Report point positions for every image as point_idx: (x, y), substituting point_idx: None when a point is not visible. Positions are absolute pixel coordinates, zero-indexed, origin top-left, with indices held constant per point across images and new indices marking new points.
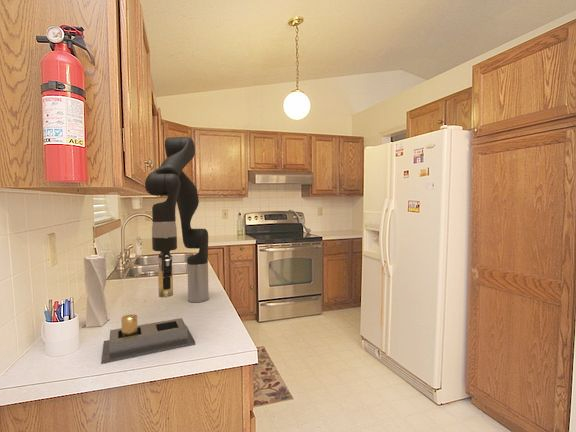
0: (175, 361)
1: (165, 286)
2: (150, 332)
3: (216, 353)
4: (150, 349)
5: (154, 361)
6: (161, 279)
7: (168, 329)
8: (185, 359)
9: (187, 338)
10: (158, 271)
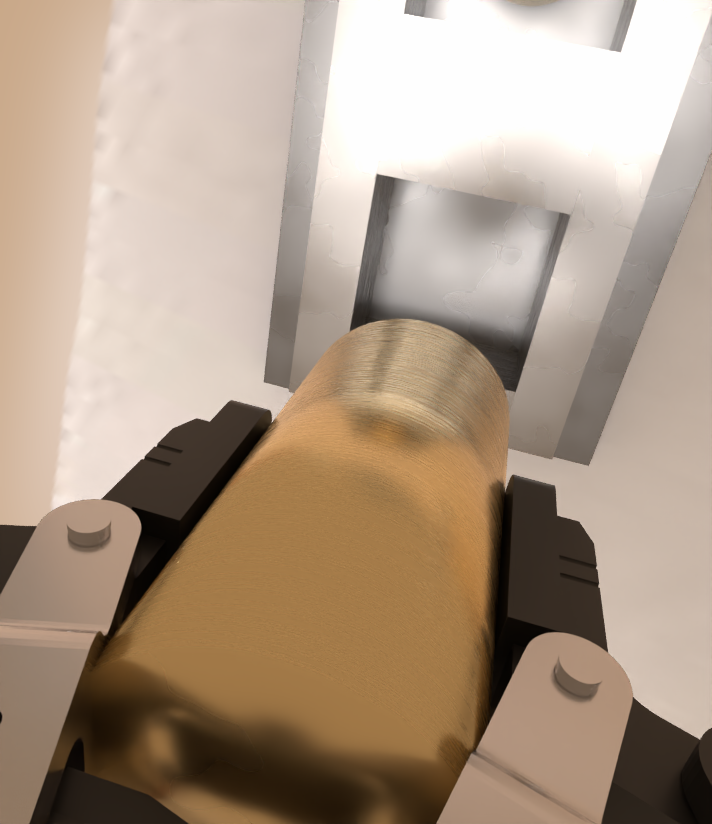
0: (103, 180)
1: (169, 441)
2: (390, 106)
3: (91, 405)
4: (326, 74)
5: (168, 58)
6: (229, 485)
7: (355, 267)
8: (100, 241)
9: None
10: (249, 592)
